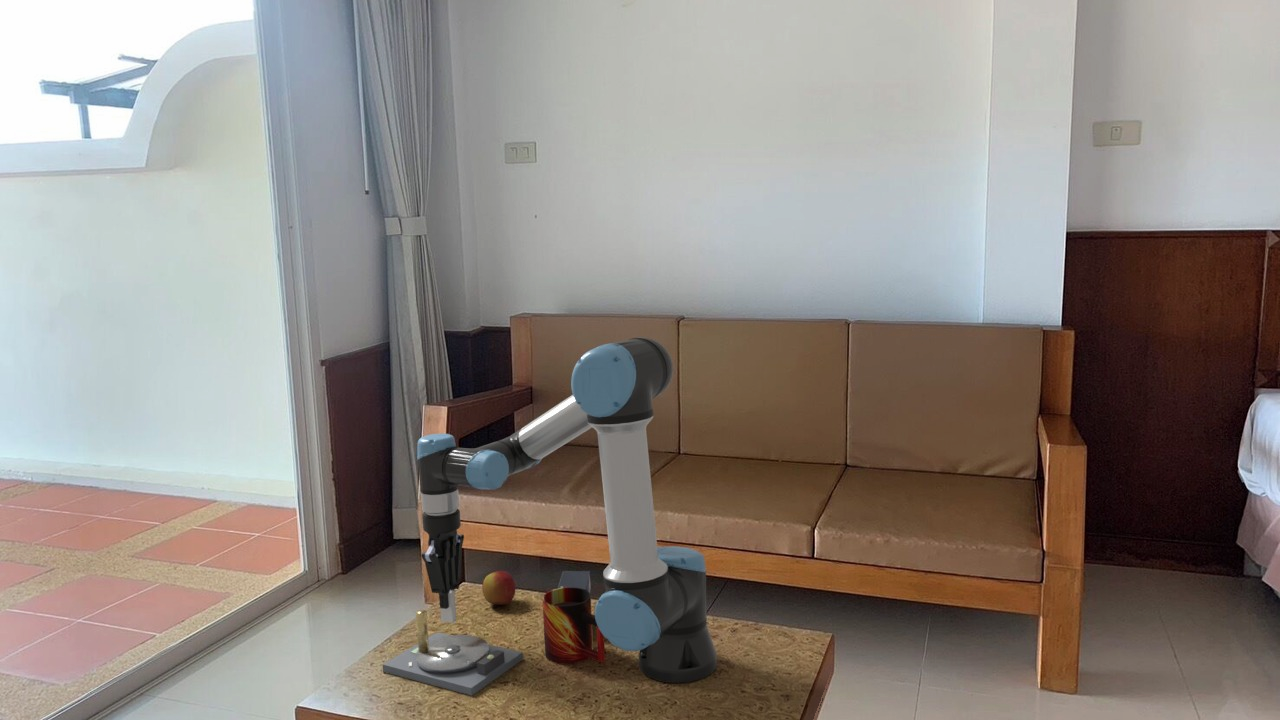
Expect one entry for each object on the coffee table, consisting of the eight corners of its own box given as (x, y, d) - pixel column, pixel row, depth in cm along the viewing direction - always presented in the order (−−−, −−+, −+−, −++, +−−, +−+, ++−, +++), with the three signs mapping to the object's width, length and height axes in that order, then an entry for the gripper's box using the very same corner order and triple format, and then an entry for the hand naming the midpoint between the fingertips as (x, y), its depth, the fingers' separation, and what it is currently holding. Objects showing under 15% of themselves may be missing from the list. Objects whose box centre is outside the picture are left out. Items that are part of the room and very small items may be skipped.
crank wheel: (428, 640, 190) (425, 597, 189) (495, 640, 189) (493, 597, 188) (407, 672, 176) (403, 627, 175) (479, 672, 175) (477, 626, 174)
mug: (604, 668, 180) (601, 610, 178) (537, 661, 183) (534, 604, 182) (618, 647, 189) (616, 590, 187) (555, 640, 193) (552, 585, 191)
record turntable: (522, 659, 185) (521, 639, 184) (471, 695, 171) (470, 674, 170) (437, 638, 195) (436, 620, 195) (383, 671, 181) (381, 651, 181)
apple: (521, 598, 215) (519, 565, 214) (509, 612, 207) (508, 578, 206) (490, 597, 217) (488, 564, 215) (477, 611, 209) (475, 577, 208)
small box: (589, 635, 194) (587, 588, 193) (558, 636, 194) (556, 589, 193) (592, 615, 205) (590, 569, 203) (563, 615, 205) (561, 570, 203)
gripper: (441, 500, 195) (449, 606, 199) (406, 518, 183) (415, 632, 186) (473, 502, 193) (480, 610, 196) (440, 521, 181) (448, 636, 184)
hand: (448, 620), depth 191 cm, fingers closed
